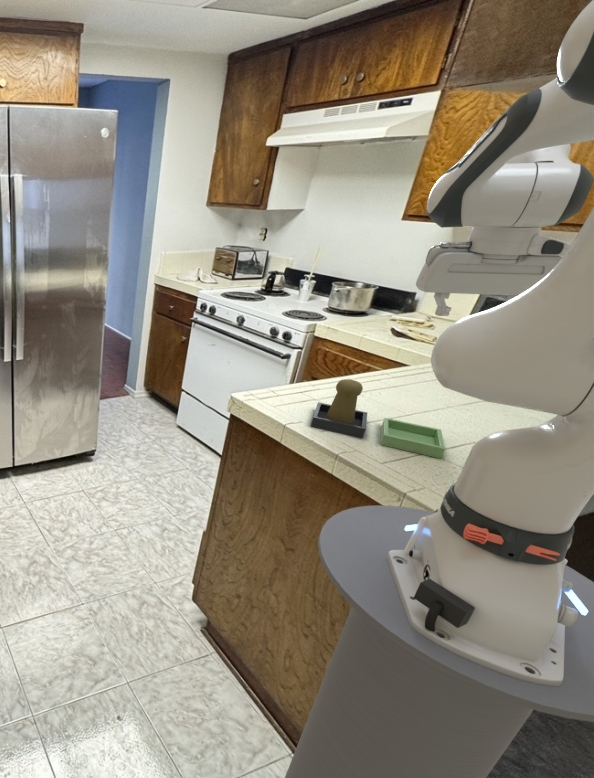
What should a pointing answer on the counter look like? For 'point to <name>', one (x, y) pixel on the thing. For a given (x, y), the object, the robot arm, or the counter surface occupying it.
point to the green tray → (412, 437)
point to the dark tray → (339, 427)
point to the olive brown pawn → (345, 401)
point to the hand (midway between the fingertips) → (470, 316)
